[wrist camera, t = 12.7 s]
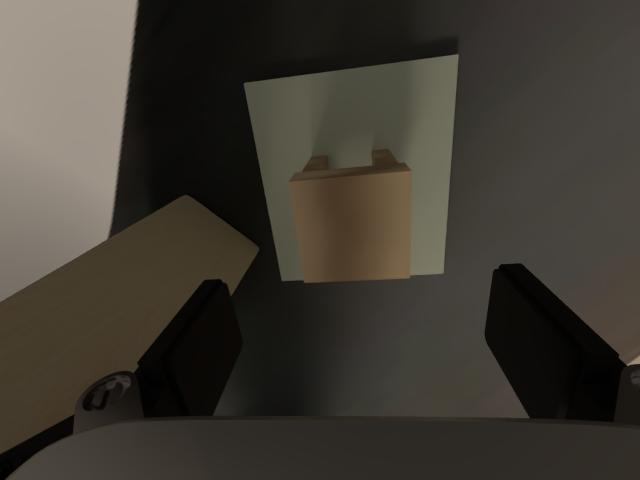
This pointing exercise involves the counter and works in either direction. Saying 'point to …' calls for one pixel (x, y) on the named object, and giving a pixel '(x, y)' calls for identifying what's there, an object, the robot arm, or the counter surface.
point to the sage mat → (359, 142)
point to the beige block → (106, 311)
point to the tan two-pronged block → (353, 219)
